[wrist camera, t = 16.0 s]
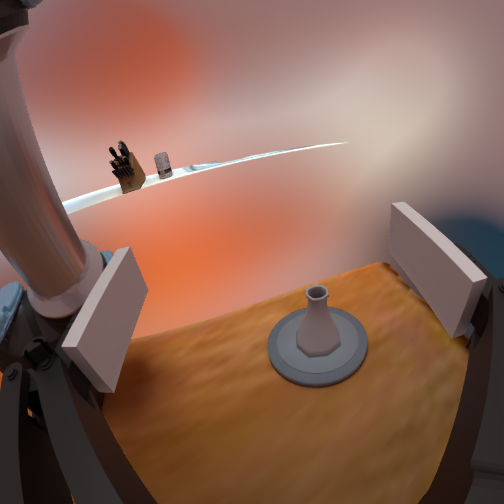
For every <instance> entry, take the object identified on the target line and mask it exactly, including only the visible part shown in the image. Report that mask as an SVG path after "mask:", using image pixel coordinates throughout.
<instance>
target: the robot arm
mask: <svg viewBox="0 0 504 504" xmlns="http://www.w3.org/2000/svg"><path fill="white" fill-rule="evenodd" d="M42 1H43V0H0V250H1V252H2V253H3V254H4V256H5V257H6V259H7V260H8V261H9V262H10V264H11V265H12V266H13V267H14V269H15V270H16V271H17V272H18V274H19V275H20V276H21V277H22V279H23V280H24V281H25V282H26V283H27V290H24V287H23V286H22V285H21V284H20V283H18V282H17V281H16V282H15V281H14V282H11V283H9V284H7V285H6V286H4V287H3V288H2V289H0V371H1V372H2V373H3V377H2V382H1V389H0V504H73V501H72V497H71V494H72V496H73V498H74V500H75V502H76V504H158V503H157V502H156V501H155V499H154V498H153V497H152V495H151V494H150V493H149V491H148V490H147V488H146V487H145V486H144V484H143V483H142V481H141V480H140V478H139V477H138V475H137V474H136V472H135V471H134V469H133V468H132V466H131V464H130V463H129V461H128V460H127V458H126V456H125V455H124V453H123V451H122V450H121V448H120V446H119V444H118V443H117V441H116V439H115V437H114V436H113V434H112V432H111V430H110V428H109V426H108V424H107V422H106V420H105V418H104V416H103V414H102V412H101V407H102V403H103V397H104V392H106V393H114V392H115V388H116V385H117V382H118V378H119V375H120V372H121V368H122V365H123V362H124V359H125V355H126V352H127V349H128V346H129V343H130V340H131V337H132V334H133V331H134V328H135V325H136V323H137V319H138V317H139V314H140V311H141V309H142V306H143V303H144V300H145V298H146V295H147V292H148V288H147V286H146V283H145V281H144V279H143V276H142V274H141V272H140V269H139V267H138V265H137V262H136V260H135V257H134V255H133V253H132V250H131V247H125V248H121V249H117V251H116V252H115V254H114V255H113V253H112V252H111V251H101V252H99V251H98V249H97V248H96V247H95V246H94V245H93V244H92V243H90V242H88V241H85V240H81V239H79V237H78V236H77V234H76V232H75V230H74V228H73V226H72V224H71V222H70V220H69V218H68V215H67V213H66V211H65V209H64V207H63V205H62V202H61V200H60V198H59V196H58V193H57V191H56V189H55V186H54V184H53V182H52V179H51V177H50V175H49V172H48V169H47V167H46V164H45V161H44V159H43V156H42V153H41V151H40V148H39V145H38V142H37V139H36V136H35V133H34V130H33V127H32V124H31V120H30V117H29V113H28V110H27V106H26V103H25V99H24V95H23V91H22V87H21V82H20V78H19V73H18V68H17V63H16V57H15V52H16V49H17V47H18V45H19V43H20V42H21V40H22V38H23V37H24V35H25V34H26V32H27V31H28V29H29V22H28V9H30V8H34V7H36V5H38V4H39V3H41V2H42ZM388 251H389V252H390V254H391V255H392V256H393V257H394V259H395V260H396V261H397V263H398V264H399V265H400V266H401V268H402V269H403V270H404V272H405V273H406V274H407V275H408V277H409V278H410V279H411V281H412V282H413V283H414V285H415V286H416V287H417V289H418V290H419V292H420V293H421V294H422V296H423V297H424V299H425V300H426V301H427V303H428V304H429V306H430V307H431V309H432V310H433V311H434V313H435V314H436V316H437V317H438V319H439V320H440V322H441V323H442V325H443V326H444V328H445V329H446V331H447V332H448V334H449V335H450V337H451V339H453V338H455V337H458V336H460V335H463V334H465V333H466V331H467V329H468V327H469V324H470V322H471V323H472V325H473V326H474V330H473V333H472V335H471V337H470V339H469V341H468V343H467V345H466V348H468V347H469V345H470V344H471V346H470V353H469V359H468V365H467V371H466V376H465V381H464V386H463V390H462V395H461V399H460V403H459V407H458V411H457V415H456V418H455V422H454V425H453V428H452V431H451V435H450V438H449V441H448V444H447V447H446V449H445V452H444V455H443V458H442V460H441V463H440V465H439V468H438V470H437V473H436V475H435V477H434V480H433V482H432V484H431V486H430V488H429V490H428V491H427V493H426V494H425V495H424V496H423V497H422V499H421V500H420V501H419V503H418V504H504V279H503V278H499V279H495V278H494V277H493V276H492V275H491V274H490V272H489V271H487V270H486V268H485V267H484V266H483V265H482V264H481V263H479V262H477V260H476V259H475V258H474V257H473V256H472V255H471V254H470V253H469V252H468V251H467V250H466V249H465V248H463V247H461V246H459V245H458V244H455V243H454V244H453V243H452V242H451V241H450V240H449V239H447V238H446V237H445V236H444V235H443V234H442V233H441V232H440V231H438V230H437V229H436V228H435V227H434V226H433V225H432V224H430V223H429V222H428V221H427V220H426V219H425V218H423V217H422V216H421V215H420V214H419V213H417V212H416V211H415V210H414V209H412V208H411V207H410V206H409V205H407V204H406V203H405V202H399V203H392V204H391V221H390V235H389V247H388ZM27 409H29V410H31V411H32V417H31V416H29V415H28V411H27ZM70 491H71V493H70Z"/></svg>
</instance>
